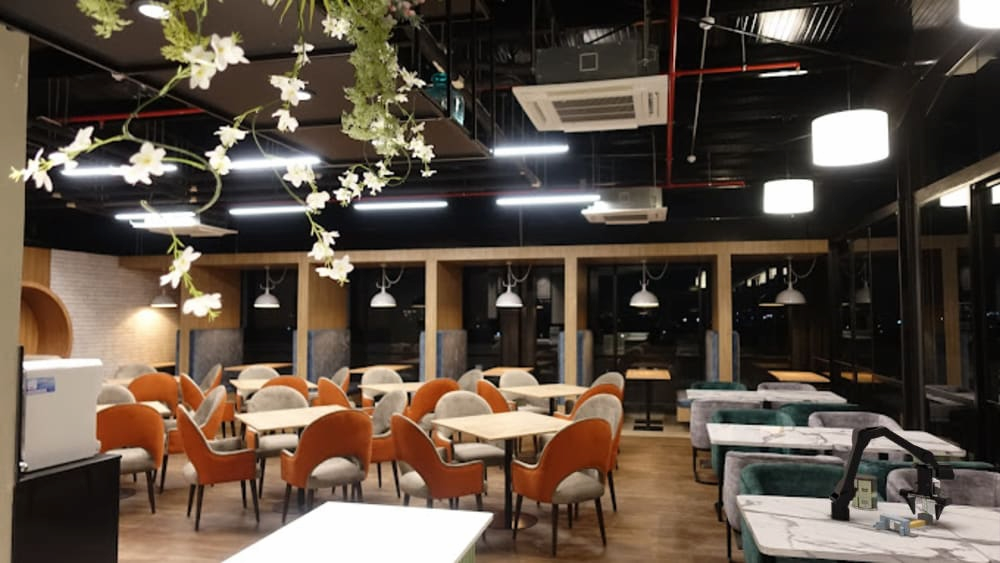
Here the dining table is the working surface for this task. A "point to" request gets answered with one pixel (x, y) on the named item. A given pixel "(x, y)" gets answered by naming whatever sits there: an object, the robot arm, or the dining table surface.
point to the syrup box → (930, 501)
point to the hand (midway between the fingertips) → (925, 517)
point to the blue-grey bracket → (904, 523)
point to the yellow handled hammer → (918, 521)
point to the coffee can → (865, 492)
